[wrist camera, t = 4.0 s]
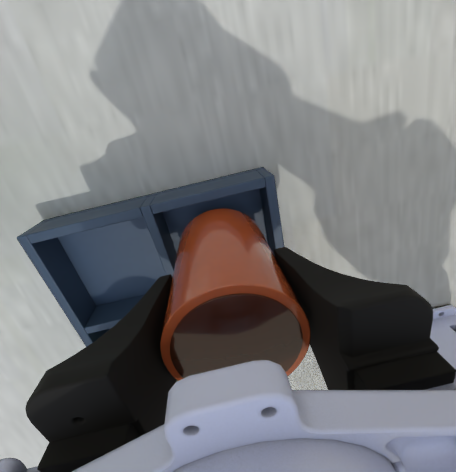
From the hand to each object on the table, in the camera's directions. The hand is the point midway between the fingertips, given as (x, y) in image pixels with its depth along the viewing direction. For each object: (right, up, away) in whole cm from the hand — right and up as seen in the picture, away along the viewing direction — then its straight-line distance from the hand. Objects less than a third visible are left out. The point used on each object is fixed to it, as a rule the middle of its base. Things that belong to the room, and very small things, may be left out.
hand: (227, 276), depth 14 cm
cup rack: (-3, -2, +7) cm, 8 cm away
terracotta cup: (0, +1, +3) cm, 3 cm away
